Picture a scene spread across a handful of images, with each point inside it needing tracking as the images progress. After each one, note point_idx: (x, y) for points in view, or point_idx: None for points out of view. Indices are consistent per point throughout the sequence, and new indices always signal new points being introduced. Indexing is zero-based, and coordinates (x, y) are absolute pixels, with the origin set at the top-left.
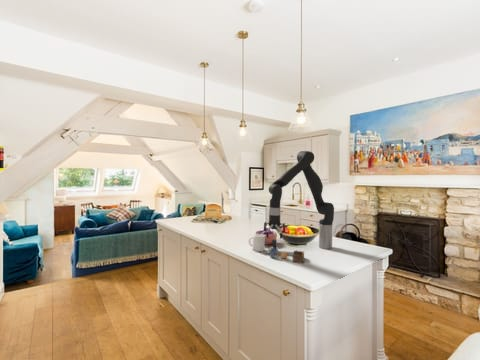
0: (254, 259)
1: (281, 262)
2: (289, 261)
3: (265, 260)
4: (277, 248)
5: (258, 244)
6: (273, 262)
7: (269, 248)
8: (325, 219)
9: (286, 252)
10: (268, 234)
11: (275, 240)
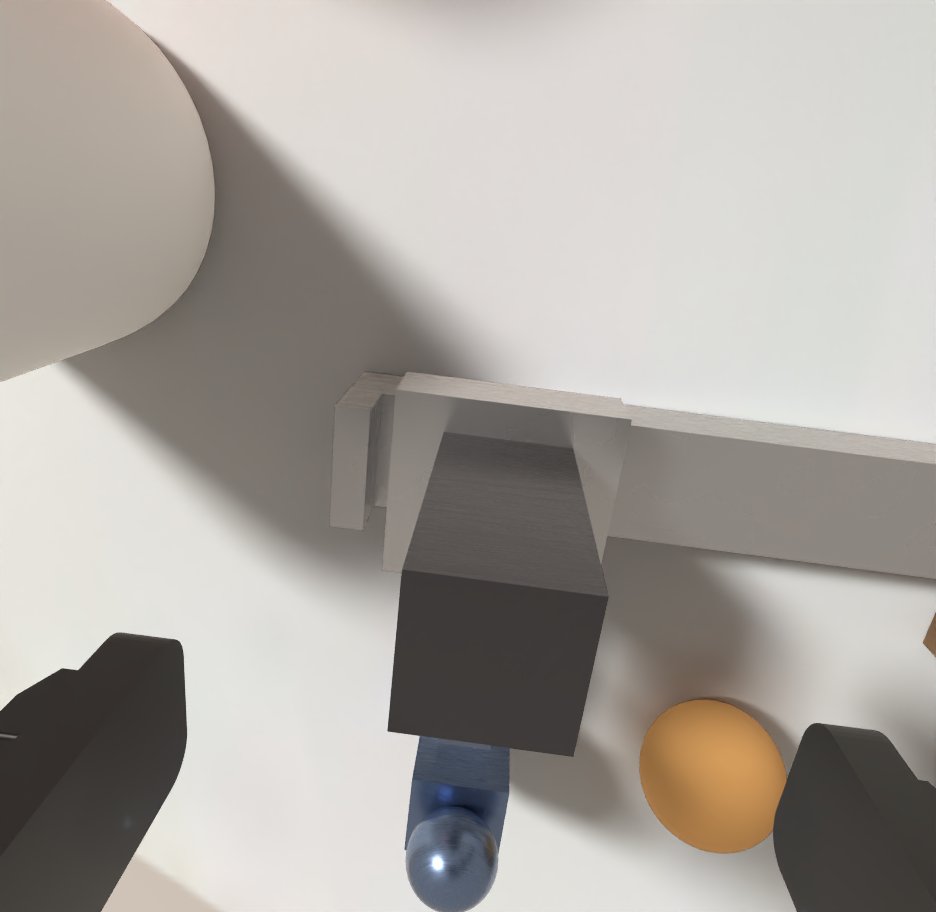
0: None
1: (621, 890)
2: (773, 842)
3: (349, 833)
4: (595, 514)
5: None
6: (487, 898)
7: (359, 466)
8: None
9: (820, 544)
10: (85, 890)
11: (540, 740)
